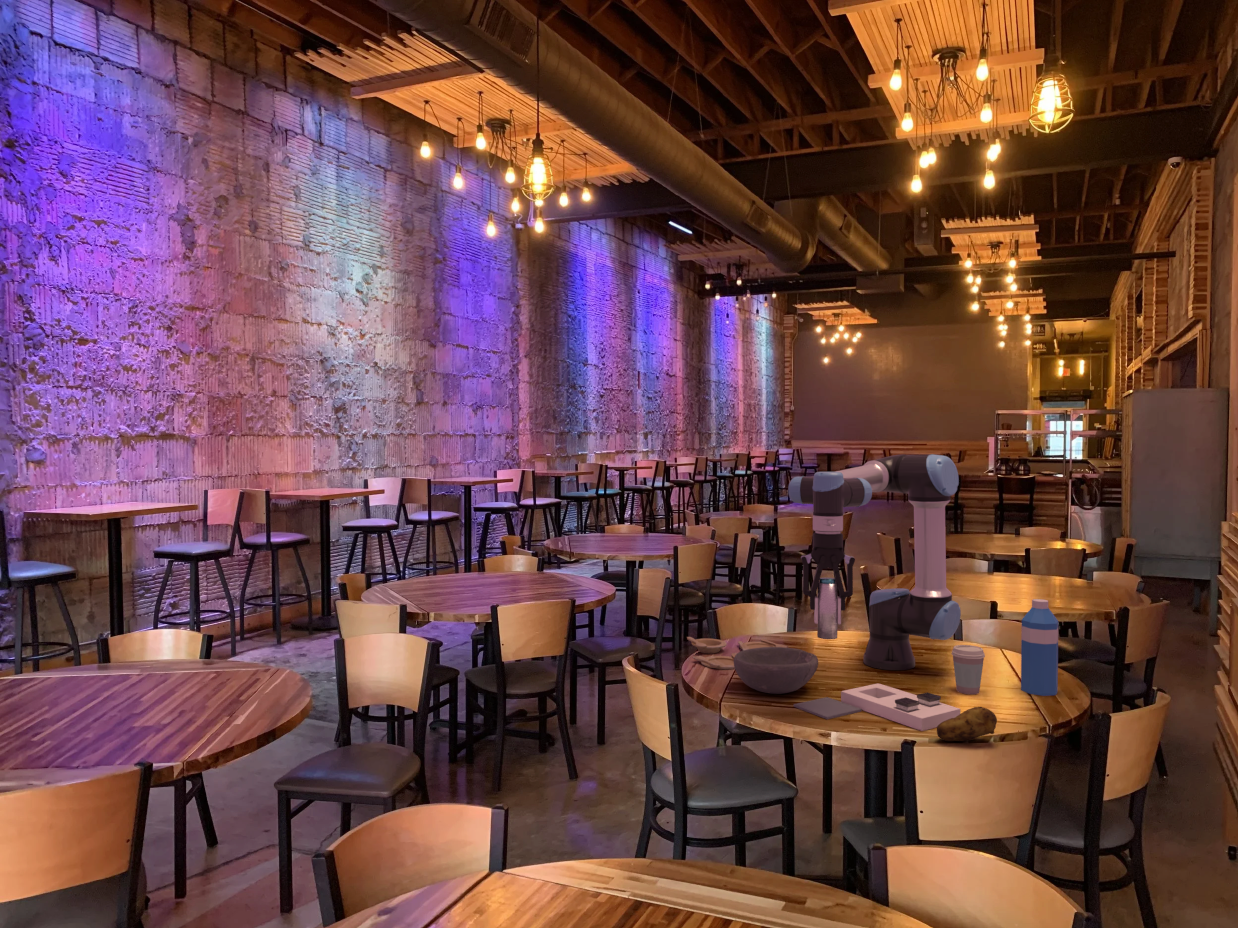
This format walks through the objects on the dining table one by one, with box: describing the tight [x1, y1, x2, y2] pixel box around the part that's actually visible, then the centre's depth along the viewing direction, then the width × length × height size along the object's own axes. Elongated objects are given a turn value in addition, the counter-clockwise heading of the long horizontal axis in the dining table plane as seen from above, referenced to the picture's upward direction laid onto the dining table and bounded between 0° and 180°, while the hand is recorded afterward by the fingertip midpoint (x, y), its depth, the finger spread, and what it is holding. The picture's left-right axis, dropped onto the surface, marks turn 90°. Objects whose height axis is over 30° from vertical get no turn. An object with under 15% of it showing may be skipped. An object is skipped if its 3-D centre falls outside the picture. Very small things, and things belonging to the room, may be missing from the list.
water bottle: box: [1020, 598, 1059, 697], centre depth 236 cm, size 9×9×25 cm
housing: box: [840, 683, 961, 732], centre depth 219 cm, size 26×14×3 cm, turn 31°
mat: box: [793, 696, 862, 720], centre depth 221 cm, size 12×12×1 cm
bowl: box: [734, 647, 819, 695], centre depth 238 cm, size 23×22×10 cm
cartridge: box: [816, 577, 839, 640], centre depth 220 cm, size 5×5×15 cm
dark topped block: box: [916, 692, 942, 707], centre depth 216 cm, size 4×4×3 cm
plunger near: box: [895, 698, 919, 713], centre depth 212 cm, size 4×4×3 cm
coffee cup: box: [951, 644, 986, 695], centre depth 236 cm, size 8×9×12 cm
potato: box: [936, 706, 998, 742], centre depth 197 cm, size 8×13×8 cm, turn 70°
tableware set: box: [686, 636, 789, 670], centre depth 276 cm, size 35×29×4 cm
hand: (827, 622), depth 220 cm, fingers closed on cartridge, 5 cm apart
